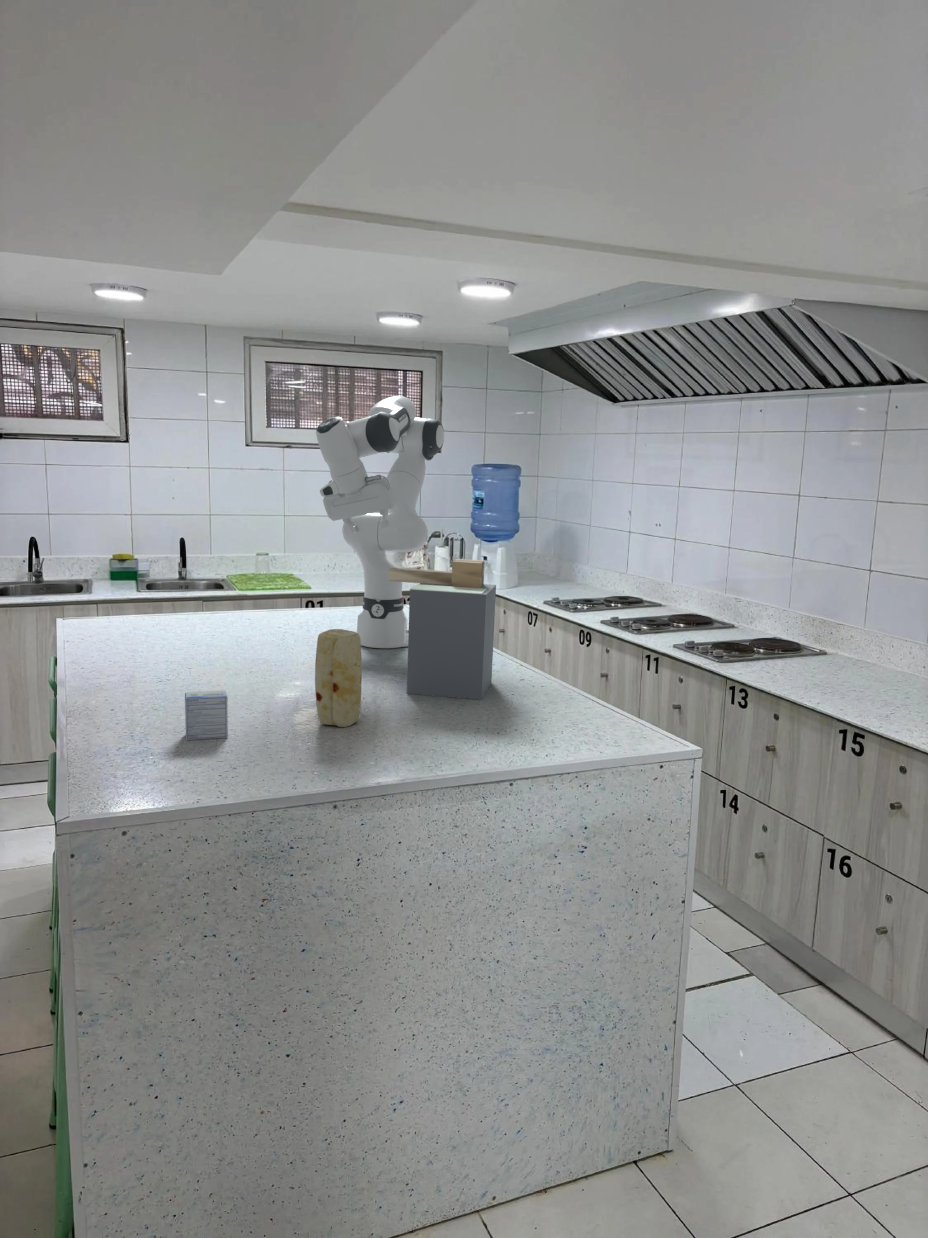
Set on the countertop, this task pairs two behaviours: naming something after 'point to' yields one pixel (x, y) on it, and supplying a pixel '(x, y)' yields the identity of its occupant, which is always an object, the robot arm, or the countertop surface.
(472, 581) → the mallet
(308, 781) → the countertop surface
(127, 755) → the countertop surface
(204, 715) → the medicine box
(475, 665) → the stand
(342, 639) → the food model
